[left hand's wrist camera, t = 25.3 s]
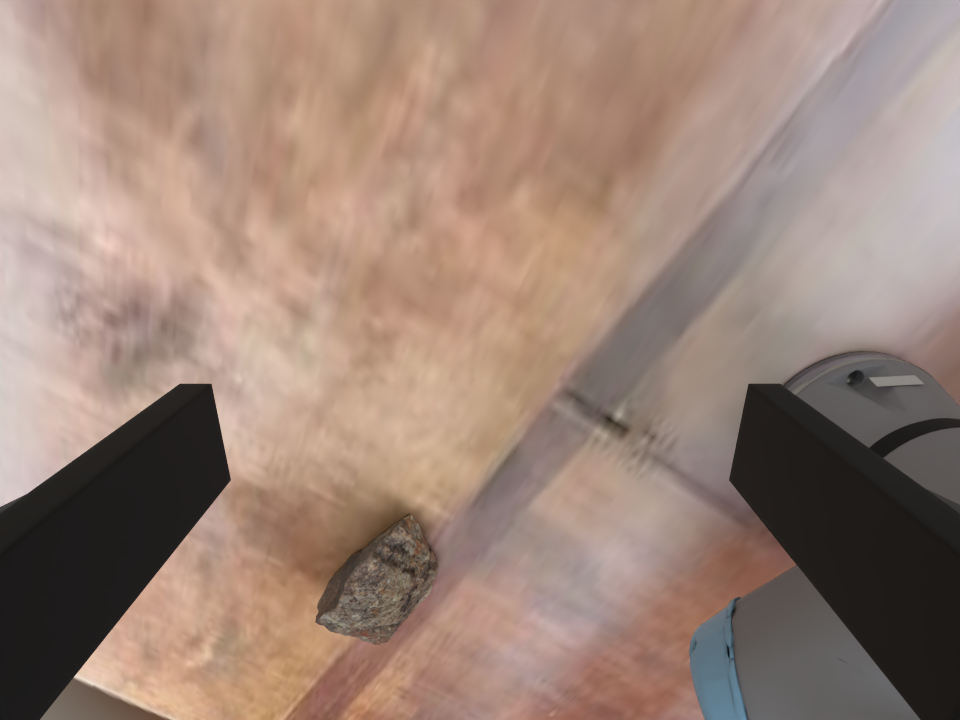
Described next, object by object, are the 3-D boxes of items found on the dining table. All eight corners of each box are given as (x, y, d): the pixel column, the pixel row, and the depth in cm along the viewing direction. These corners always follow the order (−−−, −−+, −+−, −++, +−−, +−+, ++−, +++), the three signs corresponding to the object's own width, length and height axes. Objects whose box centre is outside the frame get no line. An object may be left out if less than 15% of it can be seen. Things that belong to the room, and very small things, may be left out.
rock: (304, 568, 52) (379, 621, 54) (267, 646, 44) (356, 703, 46) (397, 489, 47) (474, 551, 49) (374, 561, 39) (467, 629, 42)
